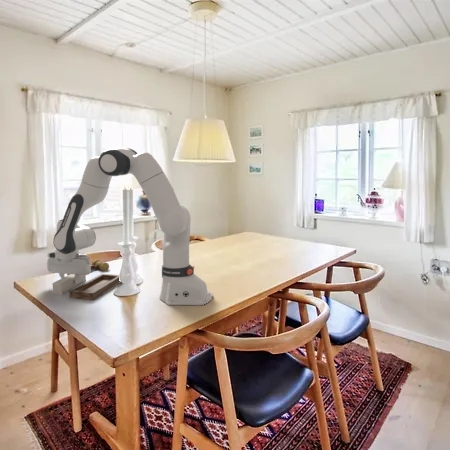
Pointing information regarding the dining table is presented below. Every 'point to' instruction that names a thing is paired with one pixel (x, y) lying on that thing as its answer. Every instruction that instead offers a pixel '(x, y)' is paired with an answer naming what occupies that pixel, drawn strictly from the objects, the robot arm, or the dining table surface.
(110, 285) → the brown wooden tray
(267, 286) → the dining table surface
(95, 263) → the gavel
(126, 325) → the dining table surface
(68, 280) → the clay strip
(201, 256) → the dining table surface
